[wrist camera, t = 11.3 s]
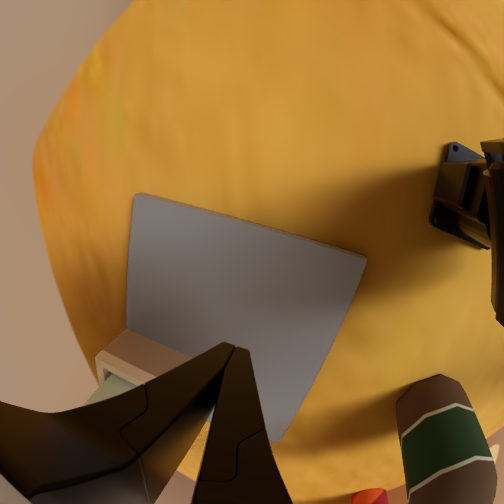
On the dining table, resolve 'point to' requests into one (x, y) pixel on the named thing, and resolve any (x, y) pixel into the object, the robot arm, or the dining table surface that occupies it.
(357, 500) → the paper cup
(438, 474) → the beer bottle
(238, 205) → the dining table surface
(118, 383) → the green block
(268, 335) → the board
